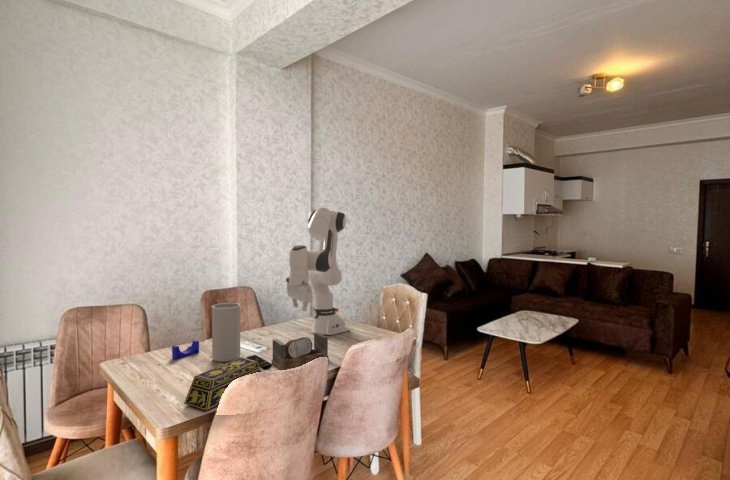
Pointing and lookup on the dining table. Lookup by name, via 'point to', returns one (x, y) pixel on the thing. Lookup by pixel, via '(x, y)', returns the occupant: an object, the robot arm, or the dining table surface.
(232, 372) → the decorative box
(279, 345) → the holder
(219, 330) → the cylinder vase
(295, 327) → the dining table surface
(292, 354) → the tin
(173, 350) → the cable clip
